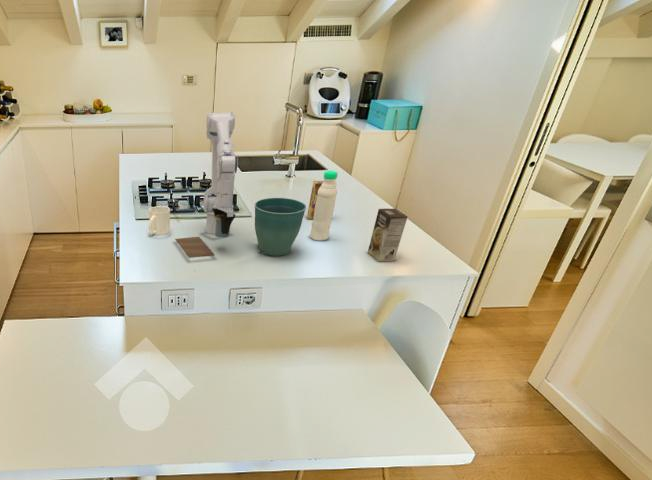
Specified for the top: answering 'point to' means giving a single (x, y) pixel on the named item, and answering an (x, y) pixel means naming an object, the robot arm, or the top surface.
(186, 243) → the cutting board
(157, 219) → the mug
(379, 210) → the coffee box
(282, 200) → the flower pot
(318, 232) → the water bottle
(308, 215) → the candy box
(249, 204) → the top surface
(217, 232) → the sugar pot
